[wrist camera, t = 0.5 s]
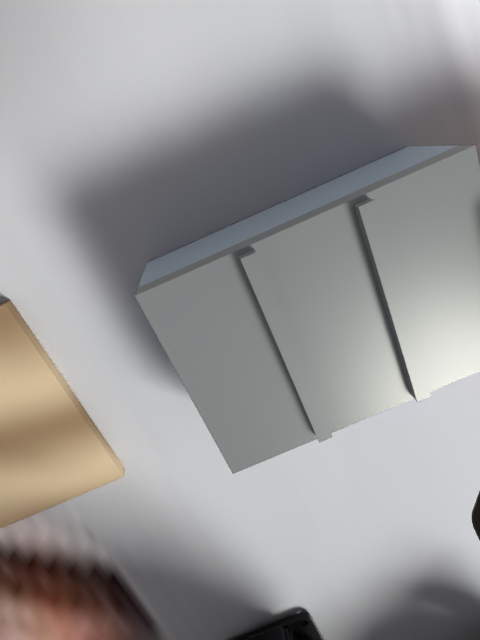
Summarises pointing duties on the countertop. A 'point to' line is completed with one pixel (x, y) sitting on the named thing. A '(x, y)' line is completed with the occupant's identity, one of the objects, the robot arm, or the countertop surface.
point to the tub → (289, 210)
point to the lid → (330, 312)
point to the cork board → (43, 430)
